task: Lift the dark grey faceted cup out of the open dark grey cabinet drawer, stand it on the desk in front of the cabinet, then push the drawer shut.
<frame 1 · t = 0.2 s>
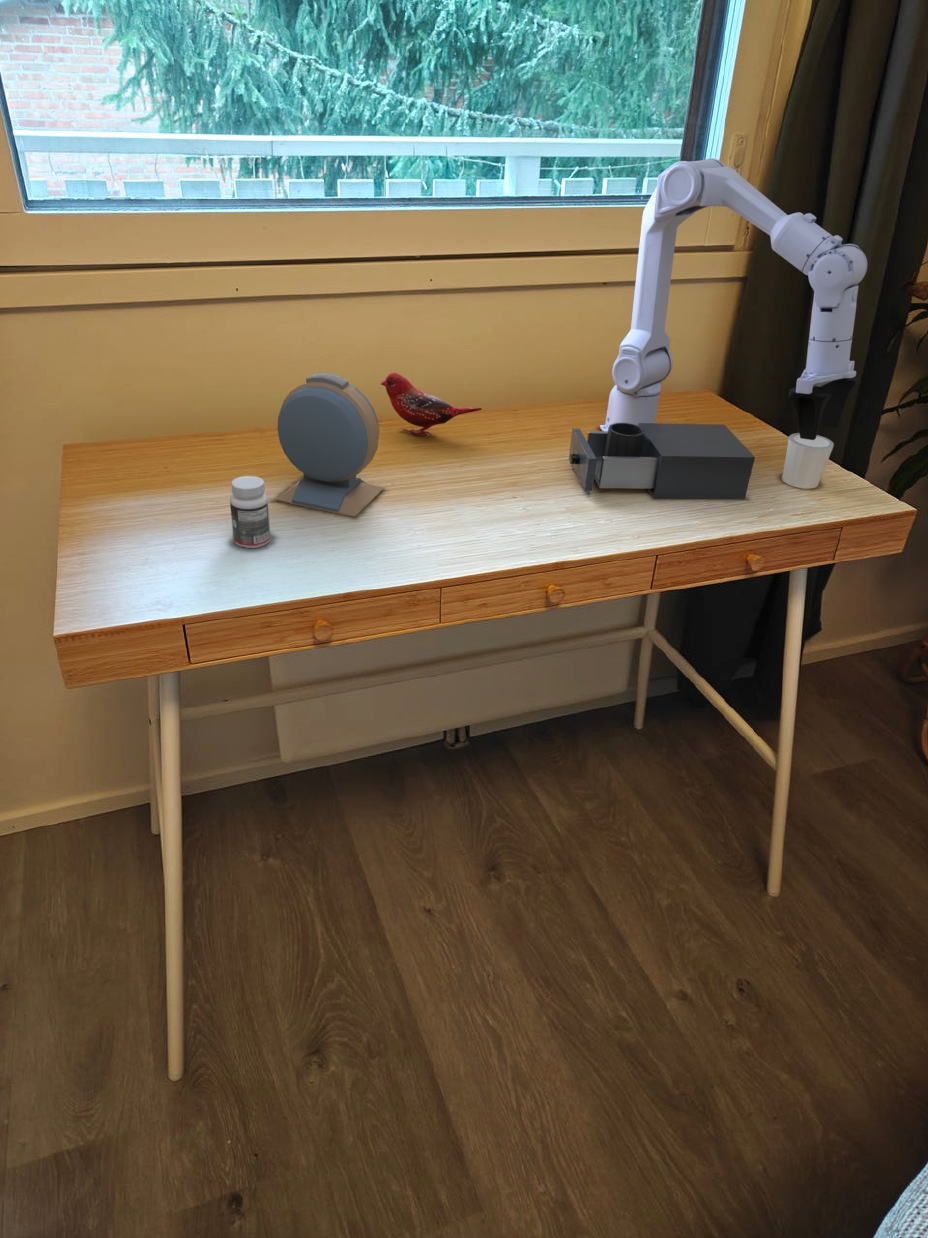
hand: (819, 432, 133), 11 cm above the table, tool pointing down, fingers open, 7 cm apart
dark grey faceted cup: (620, 468, 139), point 2 cm above the table, touching drawer
alarm clock: (330, 496, 130), on the table
dark grey cabinet: (686, 480, 141), on the table
drawer: (616, 459, 138), point 3 cm above the table, slide at 9.5 cm, touching dark grey faceted cup
decorative bird figurine: (429, 437, 151), on the table
white cylinder: (799, 482, 144), on the table
pill bottle: (252, 541, 117), on the table
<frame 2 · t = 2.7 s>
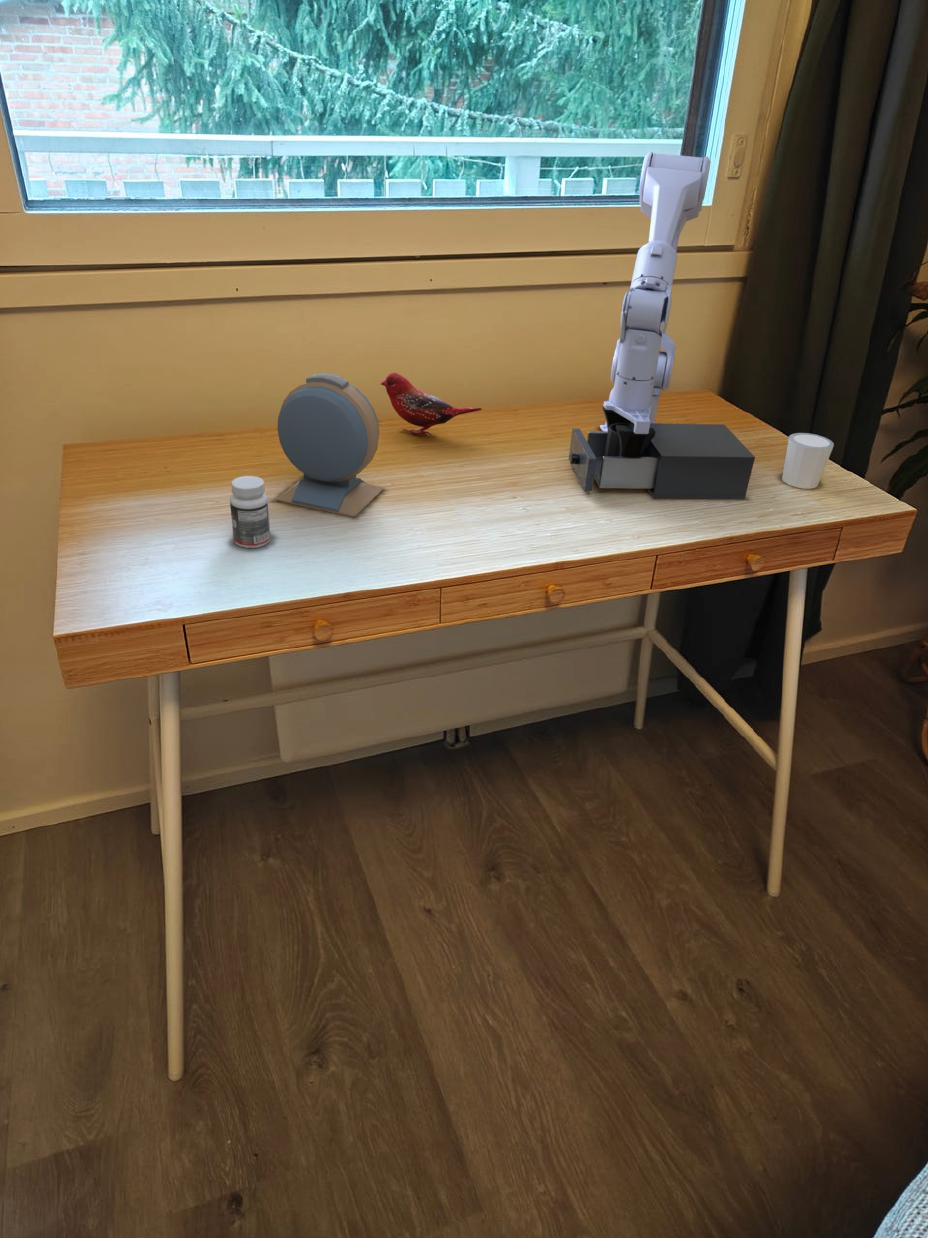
hand: (621, 461, 138), 3 cm above the table, tool pointing down, fingers open, 6 cm apart
drawer: (616, 459, 138), point 3 cm above the table, slide at 9.5 cm, touching gripper, dark grey faceted cup
everything else where it was.
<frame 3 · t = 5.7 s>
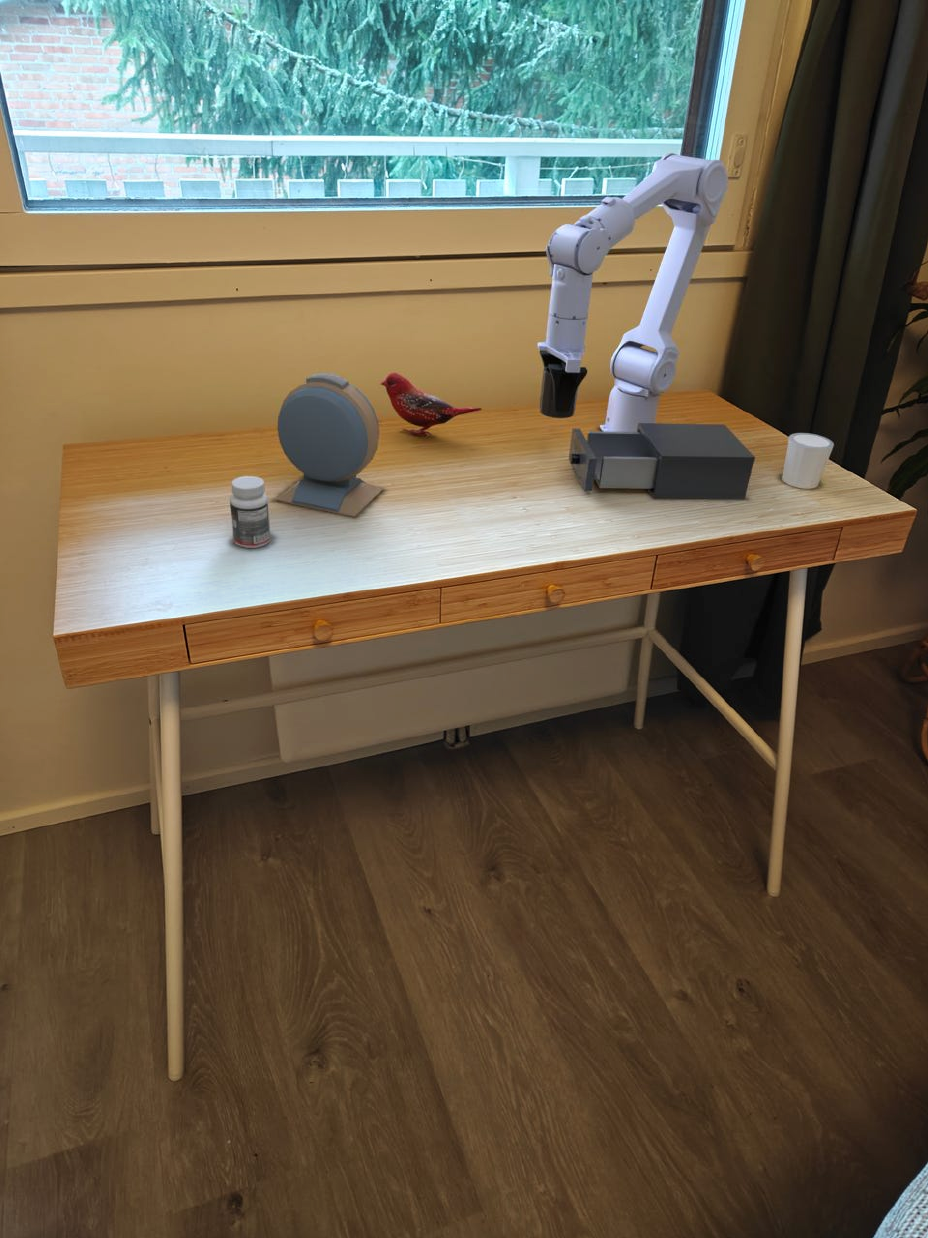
hand: (557, 404, 138), 10 cm above the table, tool pointing down, fingers closed on dark grey faceted cup, 5 cm apart
dark grey faceted cup: (556, 411, 139), point 9 cm above the table, touching gripper
drawer: (616, 459, 138), point 3 cm above the table, slide at 9.5 cm
everything else where it was.
when the fingers open (1 cm above the table, at t = 8.6 s): dark grey faceted cup stays where it is, on the table.
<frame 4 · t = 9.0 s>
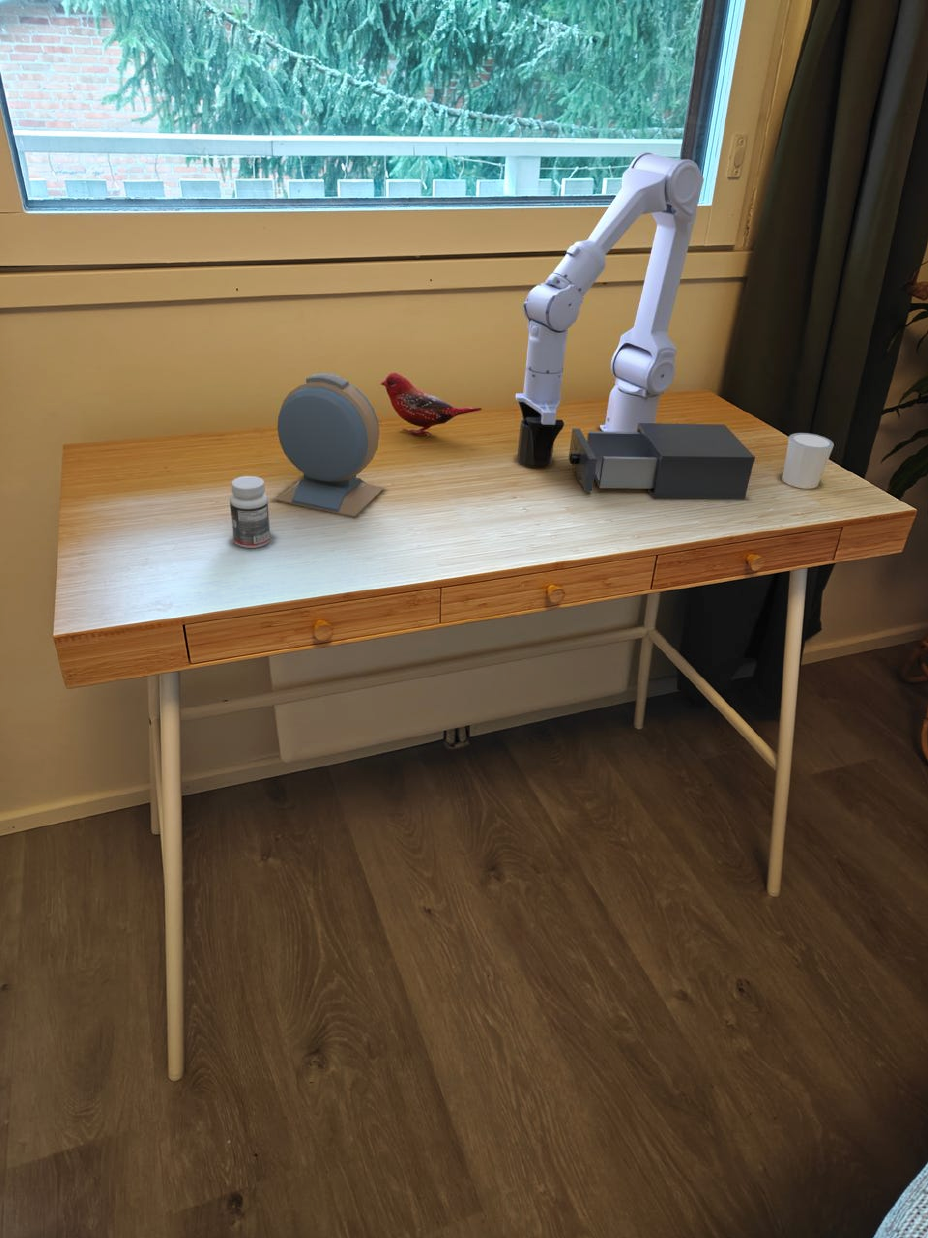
hand: (535, 451, 144), 2 cm above the table, tool pointing down, fingers open, 7 cm apart
dark grey faceted cup: (534, 461, 145), on the table
everything else where it was.
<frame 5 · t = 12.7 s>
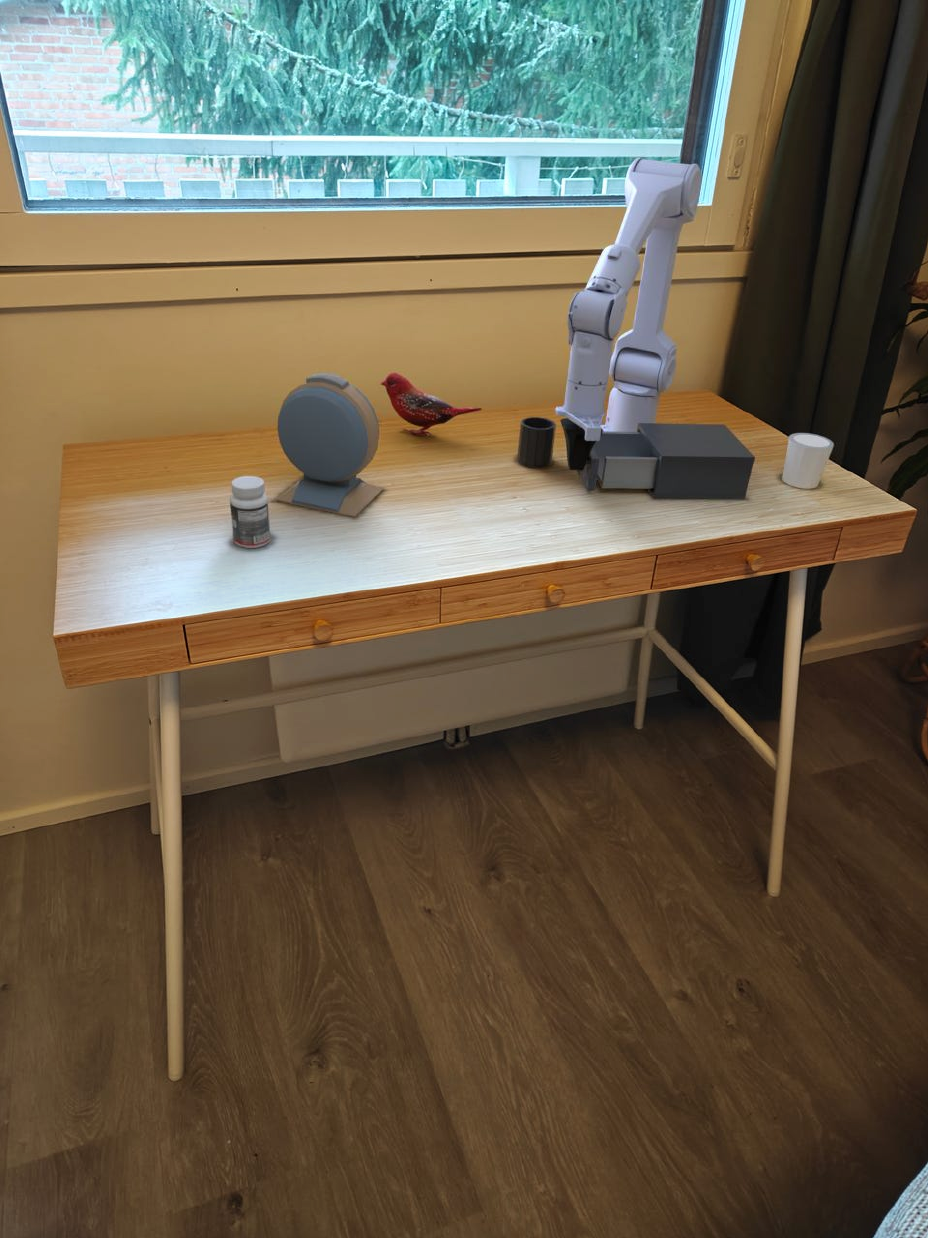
hand: (575, 468, 134), 4 cm above the table, tool pointing down, fingers closed, pressing on drawer
drawer: (619, 459, 138), point 3 cm above the table, slide at 9.1 cm, touching gripper
everything else where it was.
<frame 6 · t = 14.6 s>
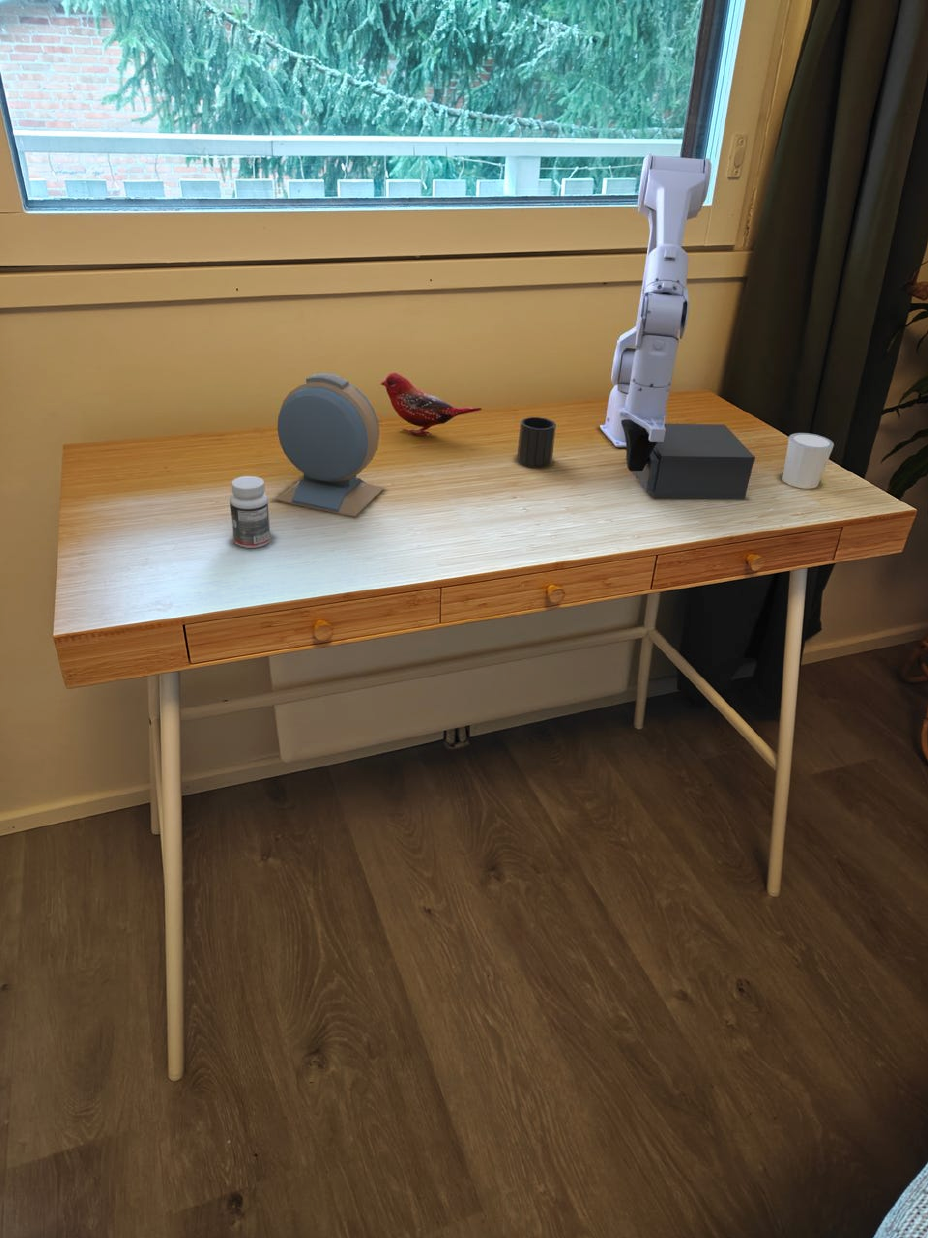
hand: (635, 469, 135), 4 cm above the table, tool pointing down, fingers closed, pressing on drawer
drawer: (676, 460, 139), point 3 cm above the table, slide at 0.0 cm, touching gripper, dark grey cabinet
everything else where it was.
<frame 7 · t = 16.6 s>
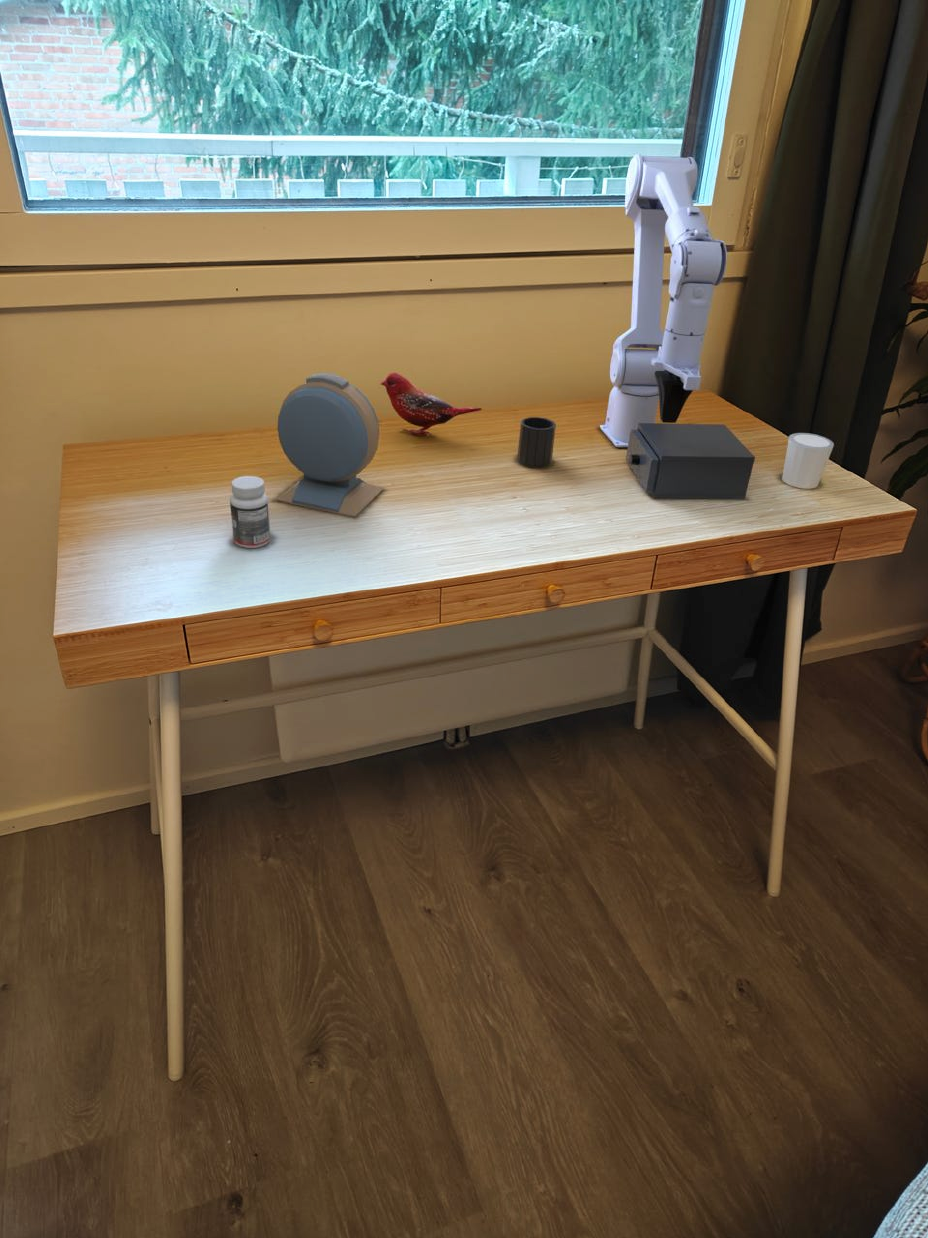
hand: (668, 421, 135), 10 cm above the table, tool pointing down, fingers closed
drawer: (676, 460, 139), point 3 cm above the table, slide at 0.0 cm, touching dark grey cabinet
everything else where it was.
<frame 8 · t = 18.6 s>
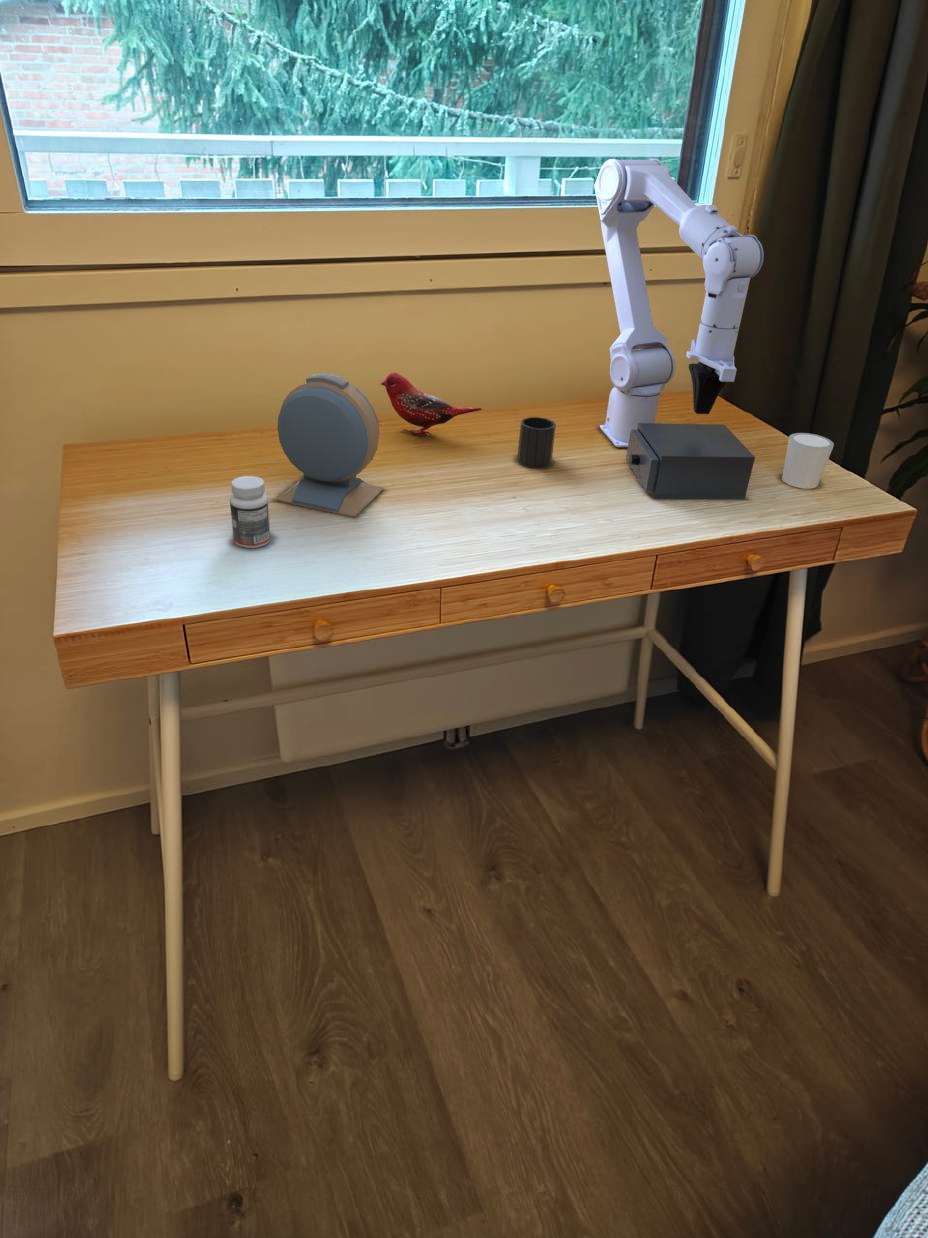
hand: (701, 412, 139), 10 cm above the table, tool pointing down, fingers closed
nothing on the table moved.
at the end: dark grey faceted cup inside the target area (0.1 cm from its centre), on the table; dark grey faceted cup tilted 0°; drawer slide at 0.0 cm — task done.
